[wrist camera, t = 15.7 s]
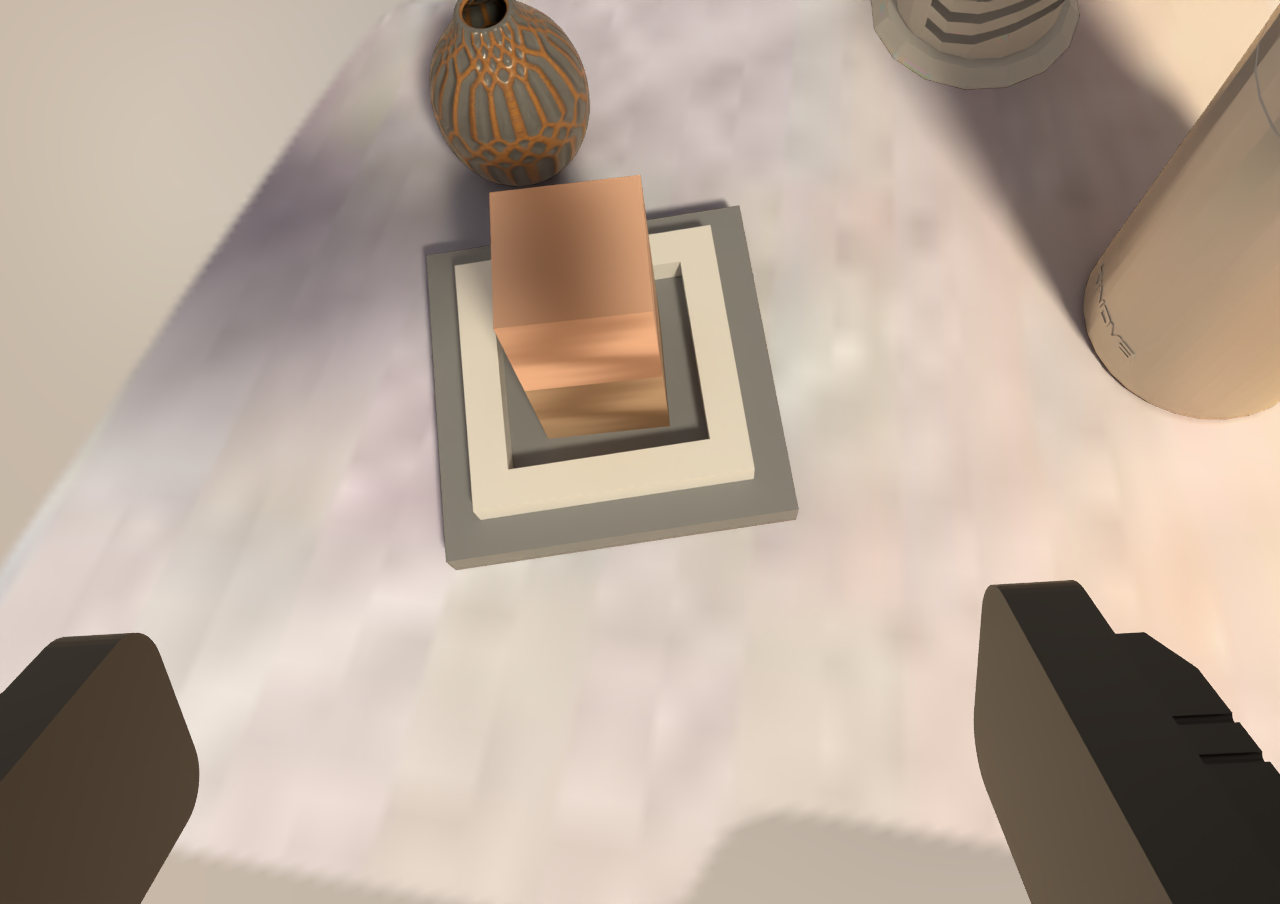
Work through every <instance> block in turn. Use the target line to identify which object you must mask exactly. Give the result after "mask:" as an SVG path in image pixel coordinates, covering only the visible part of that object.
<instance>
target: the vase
mask: <svg viewBox="0 0 1280 904" xmlns="http://www.w3.org/2000/svg"><path fill="white" fill-rule="evenodd" d="M430 96H431V103H432V108H433V112H434V115H435V118H436V121H437V123H438V126H439V128H440V130H441V132H442V134H443V136H444V138H445V140H446V142H447V143H448V145H449V147H450V148H451V149H452V151H453V152H454V153H455V154H456V156H457V157H458V158H459V159H460V160H461V161H462V162H463V163H464V164H465V165H466V166H467V167H469V168H470V169H471V170H472V171H474V172H475V173H477V174H478V175H480V176H482V177H483V178H485V179H487V180H490V181H492V182H495V183H498V184H503V185H511V186H525V185H531V184H536V183H539V182H542V181H544V180H546V179H549V178H550V177H552V176H554V175H555V174H557V173H558V172H560V171H561V170H562V169H563V168H564V167H566V166H567V165H568V164H569V163H570V161H571V160H572V159H573V158H574V156H575V155H576V153H577V152H578V150H579V148H580V146H581V144H582V142H583V139H584V137H585V133H586V130H587V126H588V120H589V113H590V99H589V89H588V82H587V78H586V74H585V70H584V67H583V64H582V62H581V59H580V57H579V55H578V53H577V51H576V49H575V47H574V46H573V44H572V43H571V41H570V40H569V38H568V37H567V35H566V34H565V33H564V32H563V30H562V29H561V28H560V27H559V26H558V25H557V24H556V23H555V22H554V21H553V20H552V19H551V18H549V17H548V16H546V15H545V14H544V13H542V12H540V11H539V10H537V9H535V8H533V7H530V6H528V5H526V4H523V3H521V2H518V1H516V0H458V2H457V4H456V6H455V9H454V14H453V20H452V21H451V22H450V24H449V25H448V27H447V28H446V30H445V31H444V33H443V34H442V36H441V38H440V39H439V41H438V43H437V46H436V48H435V51H434V54H433V58H432V62H431V68H430Z"/></svg>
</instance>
